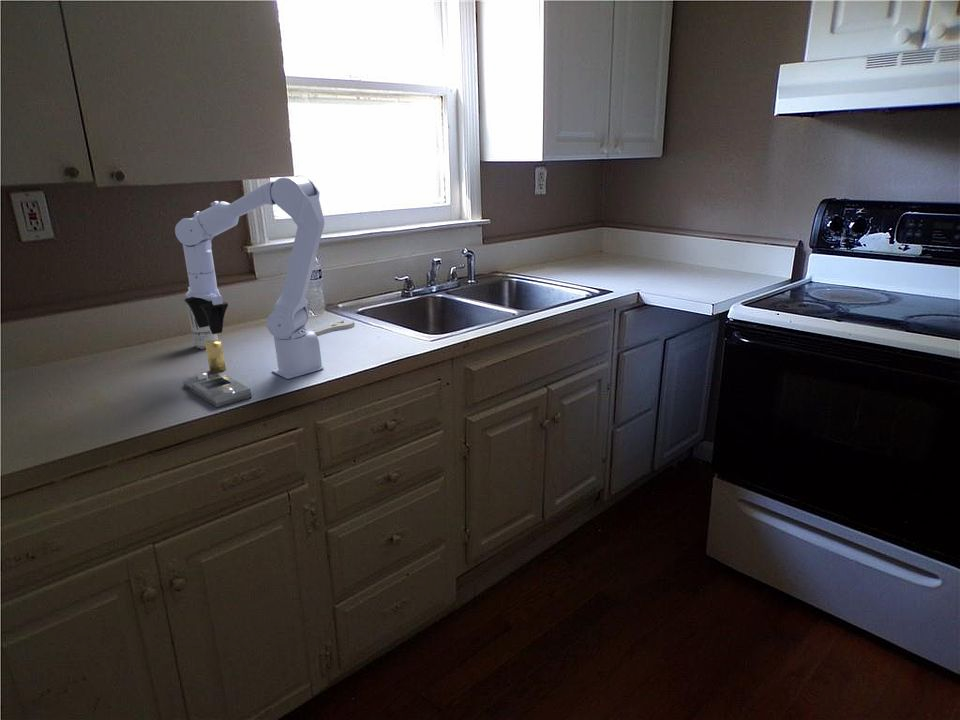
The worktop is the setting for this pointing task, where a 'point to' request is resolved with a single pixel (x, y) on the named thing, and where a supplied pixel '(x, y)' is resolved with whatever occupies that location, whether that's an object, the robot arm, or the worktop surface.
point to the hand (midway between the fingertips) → (210, 329)
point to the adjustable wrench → (334, 327)
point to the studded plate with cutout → (218, 389)
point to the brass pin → (215, 356)
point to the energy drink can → (200, 331)
